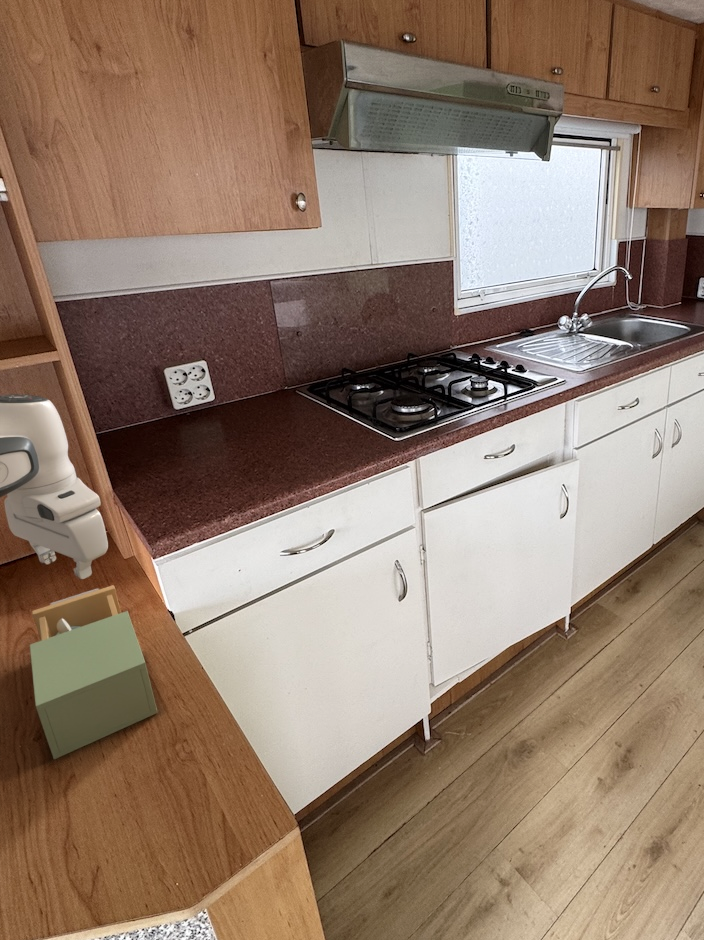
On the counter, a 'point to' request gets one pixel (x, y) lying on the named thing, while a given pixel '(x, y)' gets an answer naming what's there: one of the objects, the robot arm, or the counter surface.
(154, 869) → the counter surface
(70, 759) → the counter surface
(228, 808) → the counter surface
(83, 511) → the robot arm
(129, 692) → the cabinet
